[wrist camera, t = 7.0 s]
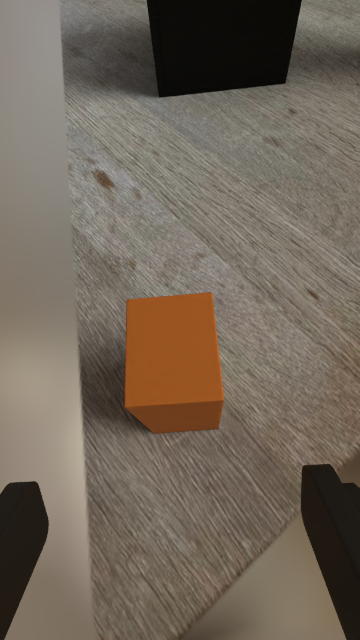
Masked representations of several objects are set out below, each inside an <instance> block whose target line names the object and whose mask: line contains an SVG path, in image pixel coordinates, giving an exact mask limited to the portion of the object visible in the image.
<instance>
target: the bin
mask: <svg viewBox="0 0 360 640" xmlns="http://www.w3.org/2000/svg"><path fill="white" fill-rule="evenodd" d="M301 1H302V0H147V7H148V14H149V22H150V30H151V38H152V46H153V54H154V62H155V70H156V78H157V85H158V93H159V97H166V96H175V95H184V94H193V93H202V92H211V91H220V90H229V89H238V88H247V87H256V86H264V85H273V84H282V83H286V78H287V73H288V68H289V63H290V57H291V52H292V47H293V42H294V37H295V32H296V27H297V22H298V17H299V12H300V6H301Z"/></svg>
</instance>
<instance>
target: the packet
mask: <svg viewBox="0 0 360 640" xmlns="http://www.w3.org/2000/svg"><path fill="white" fill-rule="evenodd" d="M223 403H224V394H223V385H222V376H221V367H220V358H219V349H218V340H217V332H216V323H215V314H214V305H213V296H212V293H199V294H187V295H175V296H163V297H152V298H140V299H128V300H127V312H126V358H125V404H124V407H125V408H126V409H127V410H128V411H129V412H131V413H132V414H133V415H134V416H135V417H136V418H137V419H138V420H140V421H141V422H142V423H143V424H144V425H145V426H146V427H147V428H149V429H150V430H151V431H152V432H153V433H166V432H181V431H196V430H211V429H218V427H219V422H220V417H221V412H222V407H223Z"/></svg>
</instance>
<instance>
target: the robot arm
mask: <svg viewBox="0 0 360 640" xmlns="http://www.w3.org/2000/svg"><path fill="white" fill-rule="evenodd" d="M301 513H302V518H303V523H304V526H305V529H306V532H307V535H308V537H309V540H310V542H311V545H312V548H313V551H314V553H315V556H316V559H317V561H318V564H319V567H320V569H321V572H322V575H323V578H324V580H325V583H326V586H327V588H328V591H329V594H330V596H331V599H332V602H333V605H334V607H335V610H336V613H337V615H338V618H339V621H340V623H341V626H342V629H343V631H344V634H345V637H346V639H347V640H360V488H359V487H357V485H355V484H354V483H342V482H341V481H340V479H339V477H338V475H337V474H336V472H335V470H334V468H333V467H332V466H331V465H330V464H320V465H304V466H303V468H302V485H301ZM48 523H49V522H48V516H47V513H46V509H45V506H44V502H43V499H42V495H41V492H40V488H39V485H38V483H37V482H34V481H33V482H16V483H9V484H8V485H7V486H6V487H5V488H4V490H3V491H2V493H1V494H0V640H4V639H5V636H6V634H7V632H8V629H9V627H10V625H11V622H12V620H13V617H14V615H15V613H16V610H17V608H18V606H19V603H20V601H21V599H22V596H23V594H24V591H25V589H26V587H27V584H28V582H29V580H30V577H31V575H32V573H33V570H34V568H35V565H36V563H37V561H38V558H39V556H40V554H41V551H42V549H43V546H44V544H45V542H46V538H47V534H48V525H49V524H48Z"/></svg>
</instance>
